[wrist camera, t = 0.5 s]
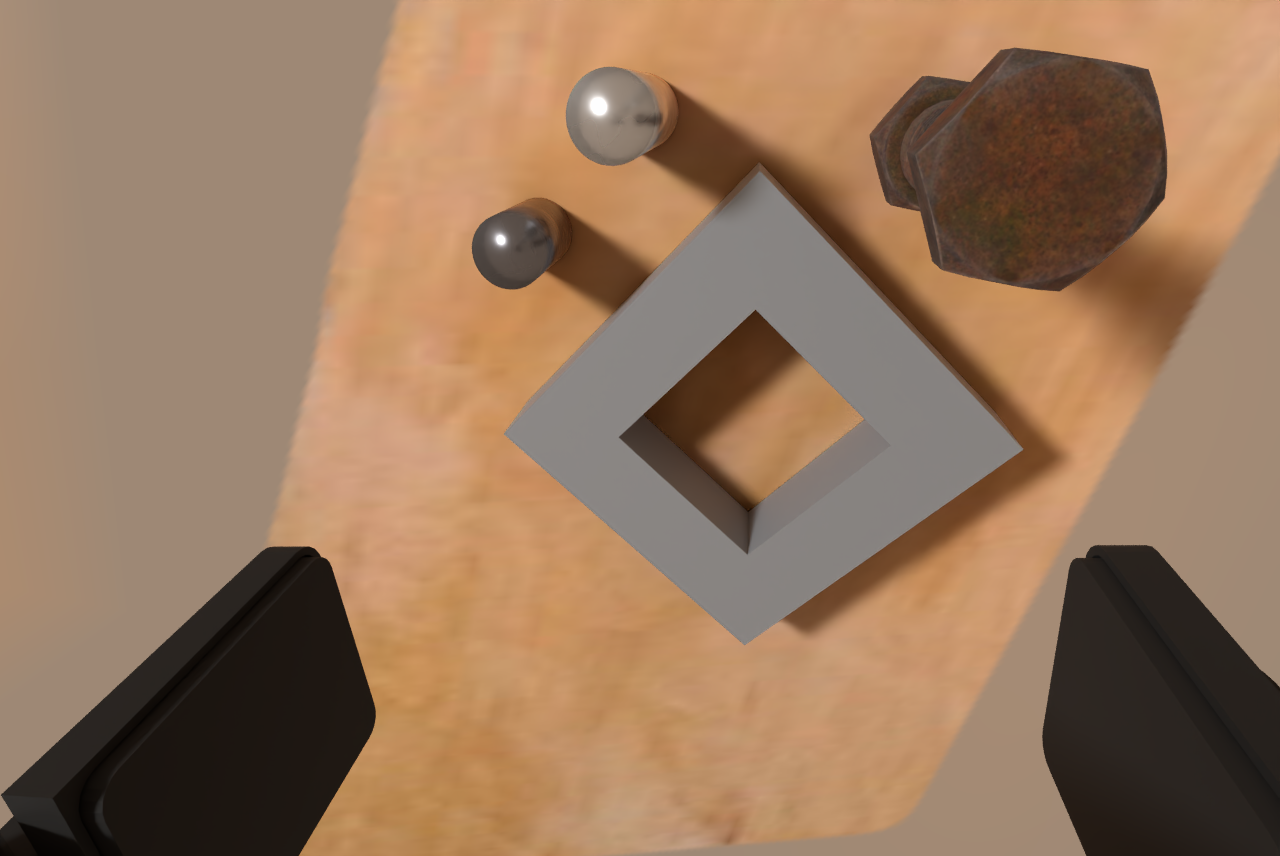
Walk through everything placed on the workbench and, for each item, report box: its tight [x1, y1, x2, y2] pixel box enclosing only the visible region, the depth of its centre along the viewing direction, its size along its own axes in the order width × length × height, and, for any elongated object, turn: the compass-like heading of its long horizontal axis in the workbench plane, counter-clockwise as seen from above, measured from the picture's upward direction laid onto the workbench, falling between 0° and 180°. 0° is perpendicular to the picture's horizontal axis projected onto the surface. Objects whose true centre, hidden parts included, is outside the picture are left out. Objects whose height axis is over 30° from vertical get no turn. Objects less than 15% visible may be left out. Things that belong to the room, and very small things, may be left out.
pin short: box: [472, 198, 572, 289], centre depth 32 cm, size 3×3×5 cm
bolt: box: [870, 48, 1167, 291], centre depth 24 cm, size 6×5×15 cm
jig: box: [504, 162, 1024, 645], centre depth 35 cm, size 16×16×4 cm
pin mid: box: [566, 67, 678, 166], centre depth 28 cm, size 3×3×8 cm
